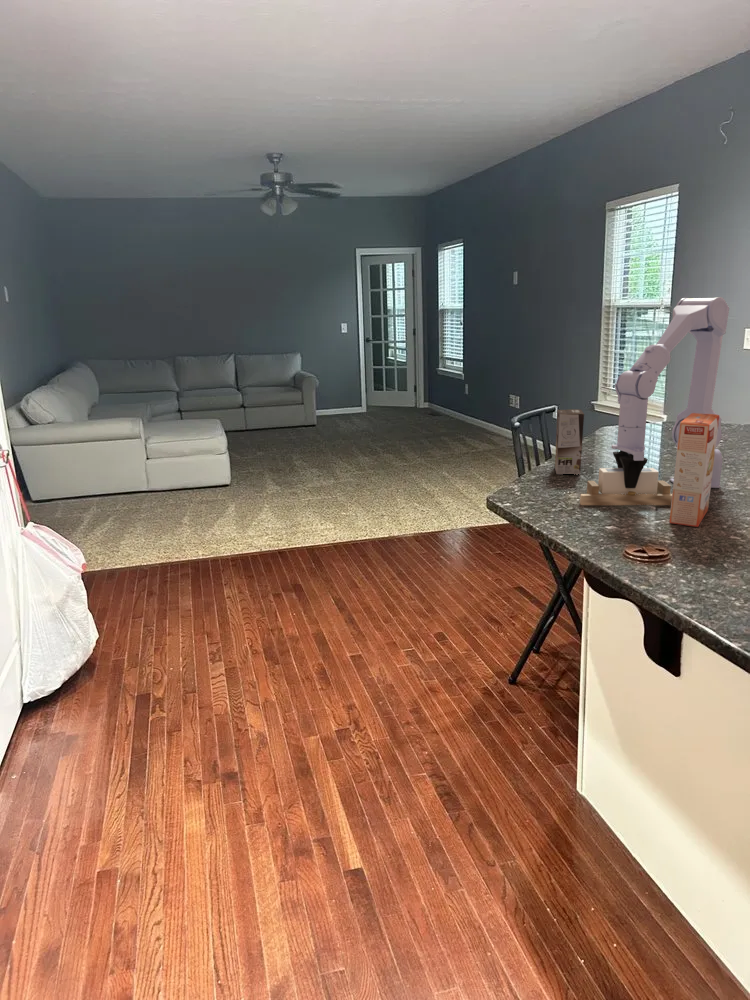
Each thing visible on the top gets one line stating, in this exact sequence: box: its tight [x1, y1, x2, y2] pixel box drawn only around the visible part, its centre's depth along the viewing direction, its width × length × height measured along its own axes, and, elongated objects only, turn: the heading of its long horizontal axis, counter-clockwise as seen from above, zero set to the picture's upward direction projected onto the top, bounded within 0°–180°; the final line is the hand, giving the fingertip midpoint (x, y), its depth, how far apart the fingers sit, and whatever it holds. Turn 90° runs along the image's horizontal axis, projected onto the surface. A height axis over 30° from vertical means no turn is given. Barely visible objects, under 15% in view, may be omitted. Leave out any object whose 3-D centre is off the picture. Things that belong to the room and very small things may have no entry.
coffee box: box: [554, 408, 585, 476], centre depth 186 cm, size 9×6×16 cm
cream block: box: [597, 467, 660, 494], centre depth 159 cm, size 12×4×5 cm, turn 85°
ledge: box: [579, 480, 672, 506], centre depth 158 cm, size 22×7×4 cm, turn 86°
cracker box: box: [669, 413, 720, 528], centre depth 143 cm, size 14×6×21 cm, turn 148°
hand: (627, 485), depth 159 cm, fingers closed on cream block, 4 cm apart
